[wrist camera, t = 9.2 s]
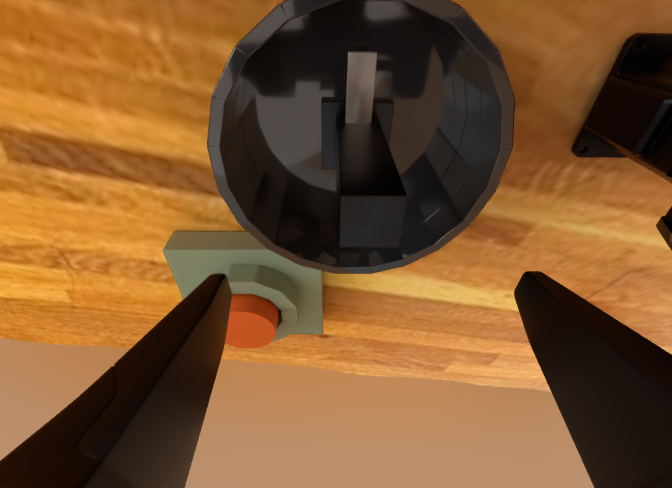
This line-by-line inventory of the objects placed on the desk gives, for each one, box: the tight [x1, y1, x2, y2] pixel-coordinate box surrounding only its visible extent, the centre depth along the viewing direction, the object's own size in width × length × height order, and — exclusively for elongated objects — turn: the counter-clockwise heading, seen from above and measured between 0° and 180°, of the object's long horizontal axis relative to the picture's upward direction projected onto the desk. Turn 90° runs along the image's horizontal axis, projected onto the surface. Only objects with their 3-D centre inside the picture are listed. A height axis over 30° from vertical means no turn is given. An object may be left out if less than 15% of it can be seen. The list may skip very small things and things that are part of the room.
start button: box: [225, 294, 279, 348], centre depth 24 cm, size 4×4×2 cm
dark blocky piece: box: [321, 51, 408, 247], centre depth 16 cm, size 9×4×9 cm, turn 179°
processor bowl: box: [207, 0, 515, 274], centre depth 17 cm, size 14×14×5 cm
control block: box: [163, 231, 323, 342], centre depth 26 cm, size 11×10×4 cm
